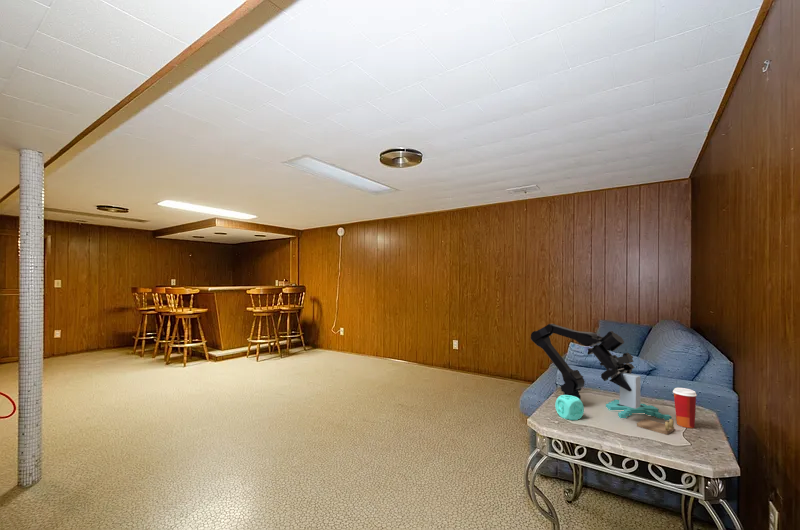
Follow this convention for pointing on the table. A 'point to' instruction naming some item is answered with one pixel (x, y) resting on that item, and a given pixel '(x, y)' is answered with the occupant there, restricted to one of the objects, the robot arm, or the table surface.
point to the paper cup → (685, 407)
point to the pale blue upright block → (632, 396)
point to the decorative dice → (569, 407)
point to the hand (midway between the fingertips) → (633, 389)
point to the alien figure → (636, 410)
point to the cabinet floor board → (657, 426)
